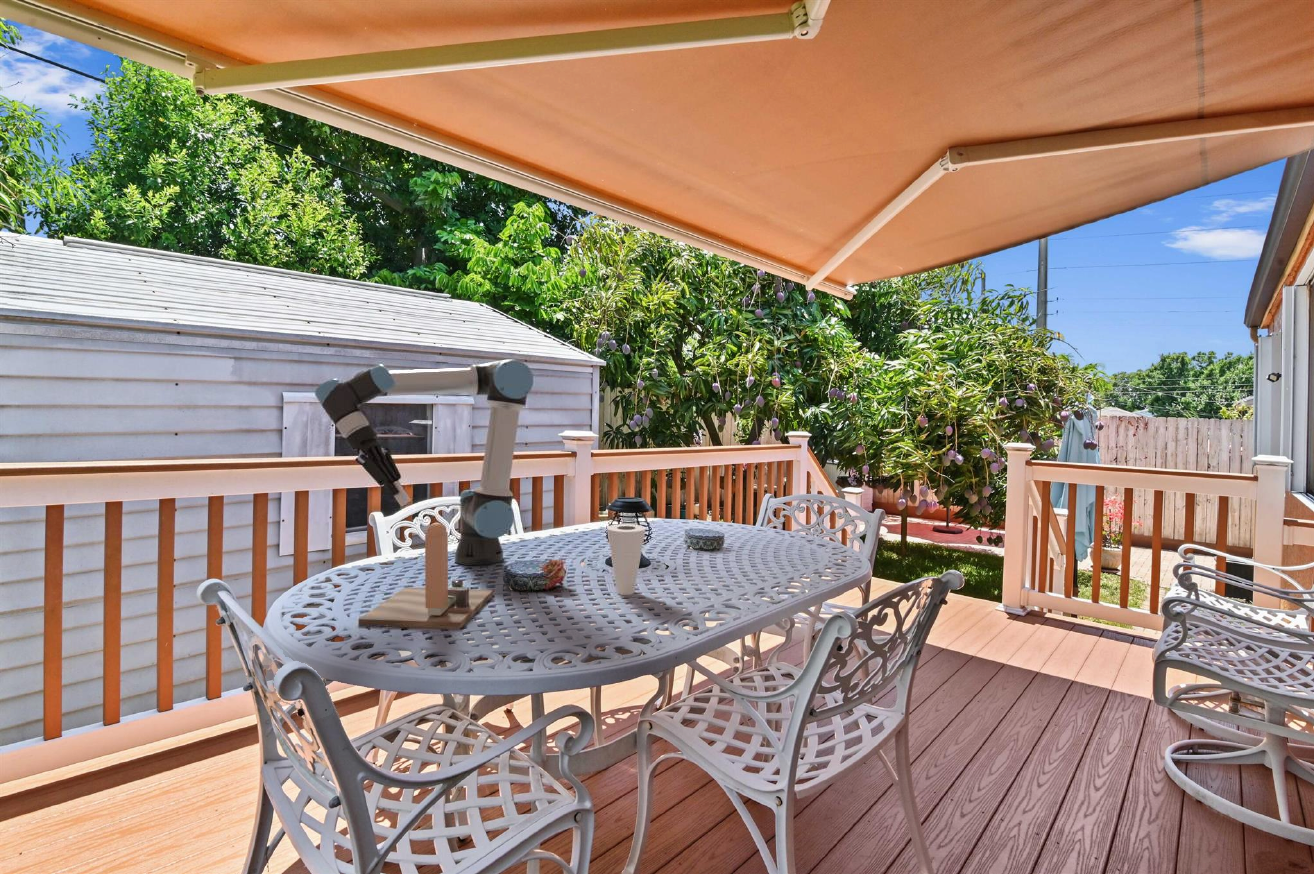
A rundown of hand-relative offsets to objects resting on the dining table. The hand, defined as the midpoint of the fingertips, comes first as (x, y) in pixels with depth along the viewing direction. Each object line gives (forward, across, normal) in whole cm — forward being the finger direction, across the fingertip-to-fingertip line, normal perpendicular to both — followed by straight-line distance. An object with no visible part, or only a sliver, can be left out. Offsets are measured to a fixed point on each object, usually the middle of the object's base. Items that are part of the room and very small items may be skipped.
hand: (406, 503), depth 187 cm
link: (+28, +16, +4) cm, 33 cm away
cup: (+54, -9, +35) cm, 65 cm away
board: (+27, +17, 0) cm, 32 cm away
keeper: (+29, +12, +4) cm, 32 cm away
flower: (+42, -8, +17) cm, 46 cm away
